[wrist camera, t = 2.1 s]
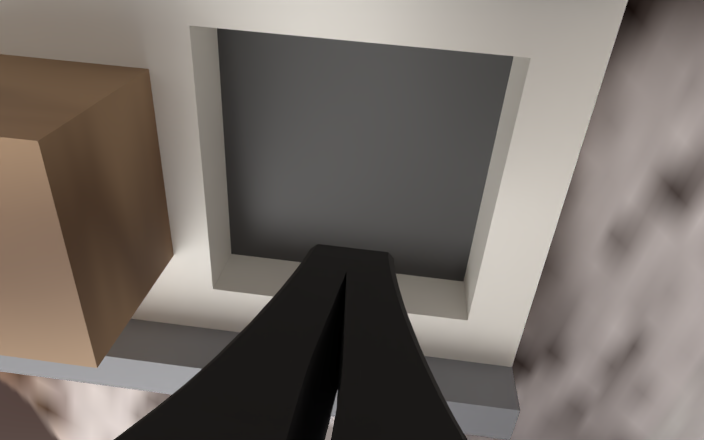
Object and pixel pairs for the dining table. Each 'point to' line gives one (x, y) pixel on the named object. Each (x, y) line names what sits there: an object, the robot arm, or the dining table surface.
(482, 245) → the deck
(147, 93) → the block
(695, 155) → the dining table surface
